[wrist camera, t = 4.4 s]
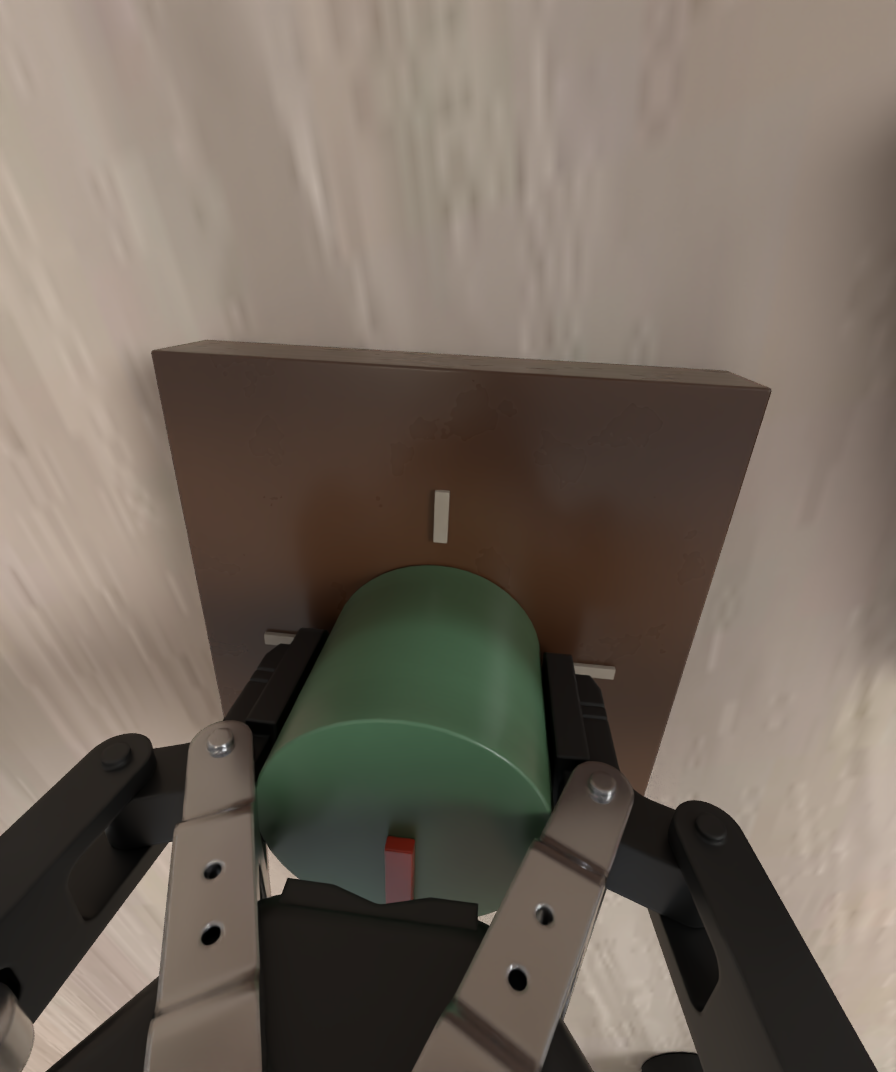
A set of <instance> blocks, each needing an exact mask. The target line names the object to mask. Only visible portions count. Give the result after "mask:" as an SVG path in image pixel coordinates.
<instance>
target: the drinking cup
mask: <svg viewBox="0 0 896 1072" xmlns="http://www.w3.org/2000/svg"><path fill="white" fill-rule="evenodd" d="M641 1072H704V1071H703V1068H702V1065H701V1062H700V1059H699V1057H698V1055H694V1054H682V1053H680V1054H667V1055H662V1056H658V1057H655V1058H652V1059H650V1060H649V1061H647V1062H646V1063H645V1064H644V1065H643V1067H642V1071H641Z"/></svg>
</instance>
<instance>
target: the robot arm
mask: <svg viewBox="0 0 896 1072" xmlns="http://www.w3.org/2000/svg"><path fill="white" fill-rule="evenodd" d="M328 637H329V632H328V630H324V629H313V628H303V627H302V628H300V629H299V631H298V632H297V634H296V636H295V637H294V639H293V641H292V642H291V644H282V643H280V644H279V645H277V646H276V647H275V648H273V649H272V650H271V651H269V652H268V653H267V654H266V655H265V656H264V658H263V659H262V661H261V662H260V664H259V665H258V667H257V670H255V672H254V673H253V675H252V676H251V678H250V681H248V682H247V684H246V686H245V687H244V689H243V690H242V692H241V693H240V695H239V696H238V698H237V699H236V701H235V703H234V704H233V706H232V707H231V709H230V710H229V712H228V713H227V715H226V716H225V718H224V720H223V721H220V722H216V723H214V724H211V725H209V726H207V727H206V728H204V729H203V730H201V731H200V732H199V733H198V734H197V735H196V736H195V737H194V738H193V740H192V741H191V742H190V743H186V744H181V745H174V746H168V747H161V748H155V749H153V747H152V743H151V741H150V740H149V739H148V738H147V737H146V736H144V735H141V734H136V733H129V734H122V735H118V736H115V737H112V738H110V739H108V740H106V741H104V742H102V743H101V744H99V745H98V746H96V747H95V748H94V749H93V750H91V751H90V752H89V753H88V754H87V755H86V756H85V757H84V758H83V759H82V760H81V761H80V762H79V763H78V764H77V765H75V766H74V767H73V768H72V769H71V770H70V771H69V772H68V773H67V774H66V775H65V776H64V777H63V778H62V779H61V780H60V781H58V782H57V783H56V784H55V785H54V786H53V787H52V788H51V789H50V790H49V791H48V792H47V793H46V794H45V795H44V796H43V797H42V798H40V799H39V800H38V801H37V802H36V803H35V804H34V805H33V806H32V807H31V808H30V809H29V810H28V811H27V812H26V813H25V814H23V815H22V816H21V817H20V818H19V819H18V820H17V821H16V822H15V823H14V824H13V825H12V826H11V827H10V828H9V829H8V830H6V831H5V832H4V833H3V834H2V835H1V836H0V1072H22V1070H23V1069H24V1067H25V1065H26V1063H27V1061H28V1059H29V1057H30V1054H31V1051H32V1048H33V1043H34V1026H33V1024H34V1022H35V1021H36V1020H37V1018H38V1017H39V1016H40V1014H41V1013H42V1012H43V1010H44V1009H45V1008H46V1006H47V1005H48V1004H49V1002H50V1001H51V1000H52V998H53V997H54V996H55V994H56V993H57V991H58V990H59V989H60V987H61V986H62V985H63V983H64V982H65V981H66V979H67V978H68V977H69V975H70V974H71V973H72V971H73V970H74V969H75V967H76V966H77V965H78V963H79V962H80V961H81V959H82V958H83V957H84V955H85V954H86V953H87V951H88V950H89V949H90V947H91V946H92V945H93V943H94V942H95V941H96V939H97V938H98V937H99V935H100V934H101V933H102V931H103V930H104V929H105V927H106V926H107V924H108V923H109V922H110V920H111V919H112V918H113V916H114V915H115V914H116V912H117V911H118V910H119V908H120V907H121V906H122V904H123V903H124V902H125V900H126V899H127V898H128V896H129V895H130V894H131V892H132V891H133V890H134V888H135V887H136V886H137V884H138V883H139V882H140V880H141V879H142V878H143V876H144V875H145V874H146V872H147V871H148V870H149V868H150V867H151V866H152V864H153V863H154V861H155V860H156V859H157V857H158V856H159V855H160V853H161V852H162V851H163V849H164V848H165V847H166V845H167V844H168V843H169V842H172V841H173V843H172V853H171V863H170V873H169V882H168V892H167V902H166V912H165V922H164V932H163V942H162V952H161V962H160V971H159V976H158V977H157V978H156V979H155V980H153V981H152V982H151V983H150V984H149V985H148V986H146V987H145V988H144V989H143V990H142V991H140V992H139V993H138V994H137V995H136V996H135V997H133V998H132V999H131V1000H130V1001H129V1002H127V1003H126V1004H125V1005H124V1006H123V1007H121V1008H120V1009H119V1010H118V1011H117V1012H116V1013H114V1014H113V1015H112V1016H111V1017H110V1018H108V1019H107V1020H106V1021H105V1022H104V1023H103V1024H101V1025H100V1026H99V1027H98V1028H97V1029H95V1030H94V1031H93V1032H92V1033H91V1034H90V1035H88V1036H87V1037H86V1038H85V1039H84V1040H82V1041H81V1042H80V1043H79V1044H78V1045H77V1046H75V1047H74V1048H73V1049H72V1050H71V1051H69V1052H68V1053H67V1054H66V1055H65V1056H63V1057H62V1058H61V1059H60V1060H59V1061H58V1062H56V1063H55V1064H54V1065H53V1066H52V1067H50V1068H49V1069H48V1070H47V1071H46V1072H594V1071H593V1070H592V1068H591V1066H590V1065H589V1063H588V1061H587V1060H586V1058H585V1056H584V1055H583V1053H582V1051H581V1050H580V1048H579V1046H578V1045H577V1043H576V1041H575V1040H574V1038H573V1036H572V1035H571V1033H570V1031H569V1030H568V1028H567V1026H566V1025H565V1023H564V1021H563V1020H564V1017H565V1014H566V1011H567V1008H568V1005H569V1002H570V999H571V996H572V993H573V990H574V987H575V984H576V981H577V978H578V975H579V971H580V968H581V965H582V962H583V959H584V956H585V953H586V950H587V947H588V944H589V941H590V938H591V935H592V932H593V929H594V926H595V923H596V920H597V917H598V914H599V911H600V908H601V905H602V902H603V899H604V896H605V893H606V890H607V889H609V890H611V891H613V892H615V893H617V894H619V895H621V896H623V897H625V898H628V899H630V900H632V901H634V902H636V903H638V904H640V905H642V906H644V907H646V908H648V911H649V914H650V917H651V920H652V923H653V926H654V929H655V931H656V934H657V937H658V940H659V943H660V946H661V949H662V952H663V955H664V958H665V961H666V963H667V966H668V969H669V972H670V975H671V978H672V981H673V984H674V987H675V990H676V993H677V995H678V998H679V1001H680V1004H681V1007H682V1010H683V1013H684V1016H685V1019H686V1022H687V1025H688V1027H689V1030H690V1033H691V1036H692V1039H693V1042H694V1045H695V1048H696V1051H697V1054H698V1057H699V1059H700V1062H701V1065H702V1068H703V1071H704V1072H878V1071H877V1069H876V1067H875V1066H874V1064H873V1062H872V1060H871V1059H870V1057H869V1055H868V1053H867V1051H866V1050H865V1048H864V1046H863V1044H862V1043H861V1041H860V1039H859V1037H858V1035H857V1034H856V1032H855V1030H854V1028H853V1027H852V1025H851V1023H850V1021H849V1019H848V1018H847V1016H846V1014H845V1012H844V1011H843V1009H842V1007H841V1005H840V1004H839V1002H838V1000H837V998H836V996H835V995H834V993H833V991H832V989H831V988H830V986H829V984H828V982H827V980H826V979H825V977H824V975H823V973H822V972H821V970H820V968H819V966H818V964H817V963H816V961H815V959H814V957H813V956H812V954H811V952H810V950H809V949H808V947H807V945H806V943H805V941H804V940H803V938H802V936H801V934H800V933H799V931H798V929H797V927H796V925H795V924H794V922H793V920H792V918H791V917H790V915H789V913H788V911H787V909H786V908H785V906H784V904H783V902H782V901H781V899H780V897H779V895H778V894H777V892H776V890H775V888H774V886H773V885H772V883H771V881H770V879H769V878H768V876H767V874H766V872H765V870H764V869H763V867H762V865H761V863H760V862H759V860H758V858H757V856H756V854H755V853H754V851H753V849H752V847H751V846H750V844H749V842H748V840H747V839H746V837H745V835H744V833H743V831H742V830H741V828H740V827H739V825H738V824H737V823H736V822H735V820H734V819H733V818H732V817H731V816H729V815H728V814H727V813H726V812H724V811H723V810H721V809H720V808H718V807H716V806H714V805H712V804H710V803H707V802H703V801H696V800H692V801H686V802H683V803H682V804H680V805H679V806H678V807H677V808H676V810H674V809H672V808H669V807H667V806H664V805H662V804H659V803H657V802H654V801H652V800H650V799H648V798H646V797H644V796H642V795H641V794H639V793H638V792H637V791H635V790H634V789H633V788H632V785H631V783H630V782H629V780H628V779H627V778H626V776H625V775H624V774H623V773H622V772H620V769H619V765H618V761H617V757H616V752H615V748H614V744H613V739H612V735H611V731H610V726H609V722H608V721H607V713H606V709H605V708H604V706H605V705H604V700H603V696H602V692H601V689H600V688H599V686H598V685H597V684H596V682H595V681H594V680H593V679H592V677H591V676H590V675H581V674H575V669H574V663H573V658H572V655H570V654H559V653H549V652H545V653H544V656H543V661H542V678H543V689H544V700H545V711H546V722H547V734H548V745H549V756H550V767H551V778H552V789H553V800H554V810H553V812H552V814H551V816H550V818H549V820H548V822H547V824H546V826H545V828H544V830H543V832H542V834H541V836H540V837H539V838H538V837H535V839H534V840H533V841H532V843H531V845H530V846H529V848H528V850H527V852H526V854H525V856H524V858H523V860H522V862H521V864H520V866H519V868H518V870H517V872H516V874H515V876H514V878H513V880H512V882H511V884H510V886H509V888H508V890H507V892H506V894H505V896H504V898H503V900H502V902H501V904H500V906H499V908H498V910H497V912H496V914H495V916H494V918H493V920H492V922H491V924H490V926H489V925H487V924H485V923H483V922H481V921H479V920H478V904H477V903H470V902H463V901H455V900H448V899H440V898H433V897H428V898H422V899H415V900H408V901H401V902H394V903H387V904H377V903H374V902H372V901H369V900H367V899H365V898H363V897H361V896H359V895H356V894H354V893H352V892H350V891H348V890H345V889H343V888H341V887H339V886H337V885H334V884H329V883H322V882H314V881H307V880H299V879H292V878H287V881H286V884H285V886H284V889H283V892H282V894H281V895H276V896H271V887H270V876H269V860H268V846H267V844H266V841H264V839H263V837H262V835H261V833H260V829H259V818H258V800H257V789H256V782H257V779H258V776H259V774H260V772H261V770H262V768H263V766H264V764H265V762H266V760H267V758H268V756H269V754H270V752H271V750H272V748H273V746H274V744H275V742H276V740H277V738H278V736H279V734H280V732H281V730H282V728H283V726H284V724H285V722H286V720H287V718H288V716H289V714H290V712H291V710H292V708H293V706H294V704H295V702H296V700H297V698H298V696H299V694H300V692H301V690H302V688H303V686H304V684H305V682H306V680H307V678H308V676H309V674H310V672H311V670H312V668H313V666H314V664H315V662H316V660H317V658H318V656H319V654H320V652H321V650H322V649H323V647H324V645H325V643H326V641H327V639H328Z"/></svg>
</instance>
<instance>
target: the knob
mask: <svg viewBox="0 0 896 1072" xmlns="http://www.w3.org/2000/svg"><path fill="white" fill-rule="evenodd" d="M256 789H257V800H258V818H259V829H260V833H261V835H262V837H263V839H264V841H266V844H267V846H268V847H269V849H270V850H271V852H272V853H273V854H274V855H275V856H276V858H277V859H278V860H279V861H280V862H281V863H282V864H283V865H284V866H285V867H286V868H287V869H288V870H289V871H290V872H291V873H292V874H293V875H295V876H296V877H297V878H299V879H300V880H307V881H314V882H322V883H329V884H334V885H337V886H339V887H341V888H343V889H345V890H348V891H350V892H352V893H354V894H356V895H359V896H361V897H363V898H365V899H367V900H369V901H372V902H374V903H377V904H387V903H394V902H401V901H408V900H415V899H422V898H428V897H433V898H440V899H448V900H455V901H463V902H470V903H477V904H478V916H482V915H486V914H489V913H492V912H495V911H497V910H498V908H499V906H500V904H501V902H502V900H503V898H504V896H505V894H506V892H507V890H508V888H509V886H510V884H511V882H512V880H513V878H514V876H515V874H516V872H517V870H518V868H519V866H520V864H521V862H522V860H523V858H524V856H525V854H526V852H527V850H528V848H529V846H530V845H531V843H532V841H533V840H534V839H535V837H538V838H539V837H540V836H541V834H542V832H543V830H544V828H545V826H546V824H547V822H548V820H549V818H550V816H551V814H552V812H553V810H554V800H553V789H552V778H551V767H550V756H549V745H548V734H547V722H546V711H545V700H544V689H543V678H542V667H541V656H540V646H539V641H538V637H537V633H536V631H535V629H534V626H533V624H532V622H531V620H530V619H529V617H528V615H527V614H526V612H525V611H524V610H523V608H522V607H521V606H520V605H519V604H518V603H517V601H516V600H515V599H513V598H512V597H511V596H510V595H509V594H508V593H507V592H506V591H504V590H503V589H501V588H500V587H499V586H497V585H496V584H494V583H492V582H490V581H489V580H487V579H485V578H483V577H481V576H478V575H476V574H473V573H471V572H468V571H464V570H461V569H457V568H452V567H445V566H437V565H421V566H410V567H405V568H400V569H396V570H393V571H390V572H387V573H384V574H382V575H380V576H378V577H376V578H374V579H372V580H371V581H369V582H368V583H366V584H365V585H363V586H362V587H361V588H360V589H358V590H357V591H356V592H355V593H354V594H353V595H352V596H351V598H350V599H349V600H348V601H347V603H346V604H345V606H344V607H343V609H342V611H341V613H340V615H339V617H338V619H337V621H336V623H335V625H334V627H333V629H332V631H331V633H330V635H329V637H328V639H327V641H326V643H325V645H324V647H323V649H322V650H321V652H320V654H319V656H318V658H317V660H316V662H315V664H314V666H313V668H312V670H311V672H310V674H309V676H308V678H307V680H306V682H305V684H304V686H303V688H302V690H301V692H300V694H299V696H298V698H297V700H296V702H295V704H294V706H293V708H292V710H291V712H290V714H289V716H288V718H287V720H286V722H285V724H284V726H283V728H282V730H281V732H280V734H279V736H278V738H277V740H276V742H275V744H274V746H273V748H272V750H271V752H270V754H269V756H268V758H267V760H266V762H265V764H264V766H263V768H262V770H261V772H260V774H259V776H258V779H257V782H256Z"/></svg>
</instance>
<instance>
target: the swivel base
mask: <svg viewBox="0 0 896 1072" xmlns="http://www.w3.org/2000/svg"><path fill="white" fill-rule="evenodd" d="M151 354H152V359H153V364H154V369H155V374H156V379H157V384H158V389H159V394H160V399H161V404H162V409H163V414H164V419H165V424H166V429H167V434H168V439H169V444H170V449H171V454H172V459H173V464H174V469H175V474H176V479H177V484H178V489H179V494H180V499H181V504H182V509H183V514H184V519H185V524H186V529H187V534H188V539H189V544H190V549H191V554H192V559H193V564H194V569H195V574H196V579H197V584H198V589H199V594H200V599H201V604H202V609H203V614H204V619H205V624H206V629H207V634H208V639H209V644H210V649H211V654H212V659H213V664H214V669H215V674H216V679H217V684H218V689H219V694H220V699H221V704H222V709H223V714H224V718H225V716H226V715H227V713H228V712H229V710H230V709H231V707H232V706H233V704H234V703H235V701H236V699H237V698H238V696H239V695H240V693H241V692H242V690H243V689H244V687H245V686H246V684H247V682H248V681H250V678H251V676H252V675H253V673H254V672H255V670H257V667H258V665H259V664H260V662H261V661H262V659H263V658H264V656H265V655H266V654H267V653H268V652H269V651H271V650H272V649H273V648H275V647H276V646H277V645H279V644H280V643H282V644H291V642H292V641H293V639H294V637H295V636H296V634H297V632H298V631H299V629H300V628H302V627H303V628H313V629H324V630H328V632H329V635H330V633H331V631H332V629H333V627H334V625H335V623H336V621H337V619H338V617H339V615H340V613H341V611H342V609H343V607H344V606H345V604H346V603H347V601H348V600H349V599H350V598H351V596H352V595H353V594H354V593H355V592H356V591H357V590H358V589H360V588H361V587H362V586H363V585H365V584H366V583H368V582H369V581H371V580H372V579H374V578H376V577H378V576H380V575H382V574H384V573H387V572H390V571H393V570H396V569H400V568H405V567H410V566H421V565H437V566H445V567H452V568H457V569H461V570H464V571H468V572H471V573H473V574H476V575H478V576H481V577H483V578H485V579H487V580H489V581H490V582H492V583H494V584H496V585H497V586H499V587H500V588H501V589H503V590H504V591H506V592H507V593H508V594H509V595H510V596H511V597H512V598H513V599H515V600H516V601H517V603H518V604H519V605H520V606H521V607H522V608H523V610H524V611H525V612H526V614H527V615H528V617H529V619H530V620H531V622H532V624H533V626H534V629H535V631H536V633H537V637H538V641H539V646H540V656H541V667H542V661H543V656H544V653H545V652H549V653H559V654H570V655H572V658H573V663H574V669H575V674H581V675H590V676H591V677H592V679H593V680H594V681H595V682H596V684H597V685H598V686H599V688H600V689H601V692H602V696H603V700H604V705H605V706H604V708H605V709H606V713H607V721H608V722H609V726H610V731H611V735H612V739H613V744H614V748H615V752H616V757H617V761H618V765H619V769H620V772H622V773H623V774H624V775H625V776H626V778H627V779H628V780H629V782H630V783H631V785H632V788H633V789H634V790H635V791H637V792H638V793H639V794H641V795H642V796H644V794H645V791H646V788H647V785H648V781H649V778H650V775H651V772H652V769H653V766H654V762H655V759H656V756H657V753H658V750H659V747H660V743H661V740H662V737H663V734H664V731H665V727H666V724H667V721H668V718H669V715H670V712H671V708H672V705H673V702H674V699H675V696H676V693H677V689H678V686H679V683H680V680H681V677H682V674H683V670H684V667H685V664H686V661H687V658H688V654H689V651H690V648H691V645H692V642H693V639H694V635H695V632H696V629H697V626H698V623H699V620H700V616H701V613H702V610H703V607H704V604H705V600H706V597H707V594H708V591H709V588H710V585H711V581H712V578H713V575H714V572H715V569H716V566H717V562H718V559H719V556H720V553H721V550H722V547H723V543H724V540H725V537H726V534H727V531H728V527H729V524H730V521H731V518H732V515H733V512H734V508H735V505H736V502H737V499H738V496H739V493H740V489H741V486H742V483H743V480H744V477H745V474H746V470H747V467H748V464H749V461H750V458H751V454H752V451H753V448H754V445H755V442H756V439H757V435H758V432H759V429H760V426H761V423H762V420H763V416H764V413H765V410H766V407H767V404H768V400H769V397H770V394H771V389H770V388H768V387H766V386H763V385H761V384H758V383H756V382H753V381H751V380H748V379H746V378H744V377H741V376H739V375H736V374H734V373H731V372H729V371H720V370H704V369H687V368H670V367H653V366H636V365H619V364H603V363H586V362H569V361H552V360H535V359H519V358H502V357H485V356H468V355H451V354H434V353H418V352H401V351H384V350H367V349H350V348H333V347H317V346H300V345H283V344H266V343H249V342H233V341H216V340H203V341H198V342H193V343H188V344H183V345H177V346H172V347H167V348H162V349H157V350H153V351H152V352H151Z"/></svg>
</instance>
